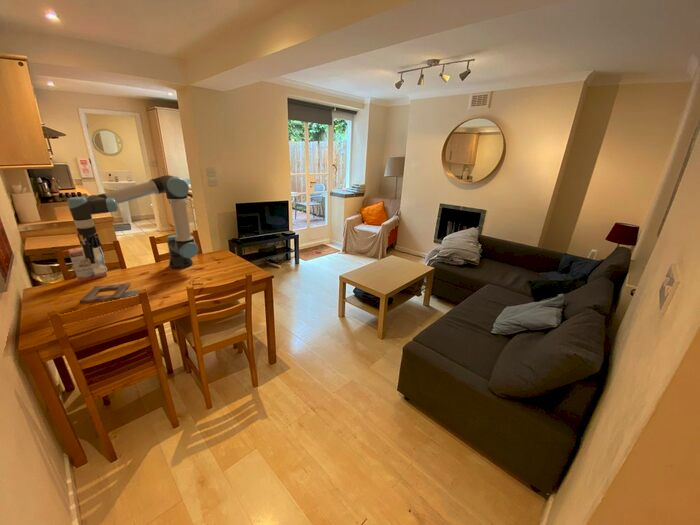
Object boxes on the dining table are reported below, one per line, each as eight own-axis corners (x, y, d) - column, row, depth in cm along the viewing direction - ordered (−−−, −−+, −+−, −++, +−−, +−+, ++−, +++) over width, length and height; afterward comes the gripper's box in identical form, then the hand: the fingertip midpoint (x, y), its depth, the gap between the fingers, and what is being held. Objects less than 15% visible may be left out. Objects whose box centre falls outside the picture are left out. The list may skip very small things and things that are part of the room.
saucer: (146, 290, 174) (146, 289, 174) (139, 299, 164) (139, 298, 163) (122, 292, 170) (122, 291, 170) (114, 302, 160) (114, 301, 160)
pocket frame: (130, 285, 179) (129, 283, 178) (118, 299, 163) (118, 297, 162) (95, 288, 173) (94, 286, 173) (80, 303, 157) (79, 300, 157)
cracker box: (79, 282, 179) (68, 251, 171) (77, 279, 182) (67, 249, 174) (107, 276, 189) (98, 246, 181) (105, 273, 192) (96, 244, 184)
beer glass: (106, 267, 167) (98, 243, 161) (110, 271, 163) (102, 246, 157) (91, 271, 162) (82, 246, 156) (94, 275, 158) (85, 250, 152)
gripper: (86, 222, 160) (99, 259, 169) (66, 232, 143) (82, 273, 152) (102, 221, 162) (114, 258, 171) (84, 231, 145) (99, 272, 154)
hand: (99, 265), depth 162 cm, fingers closed on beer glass, 7 cm apart
